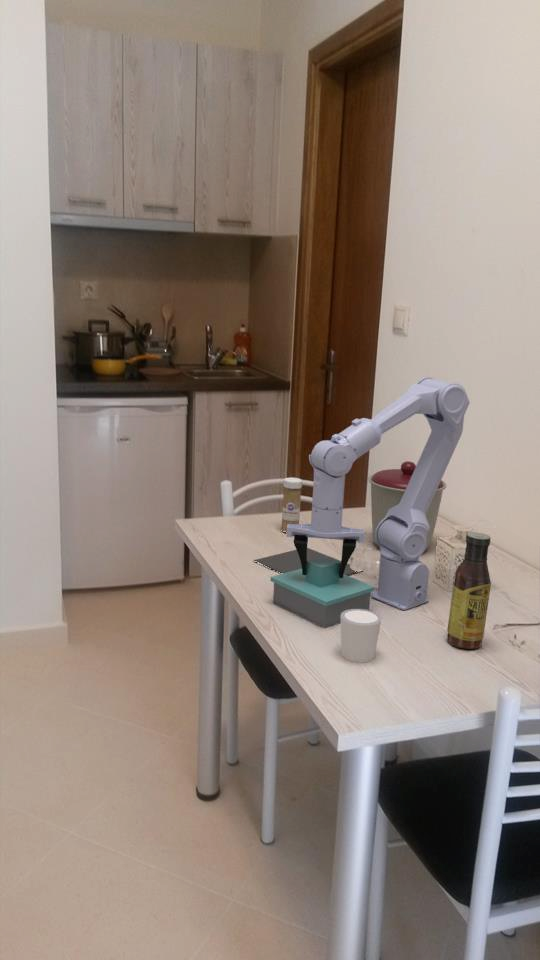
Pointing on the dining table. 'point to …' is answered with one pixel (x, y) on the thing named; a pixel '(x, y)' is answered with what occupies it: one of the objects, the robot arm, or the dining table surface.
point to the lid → (323, 582)
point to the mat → (295, 561)
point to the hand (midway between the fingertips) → (322, 574)
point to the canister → (398, 496)
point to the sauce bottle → (470, 594)
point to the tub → (317, 606)
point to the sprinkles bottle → (291, 502)
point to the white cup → (359, 634)
